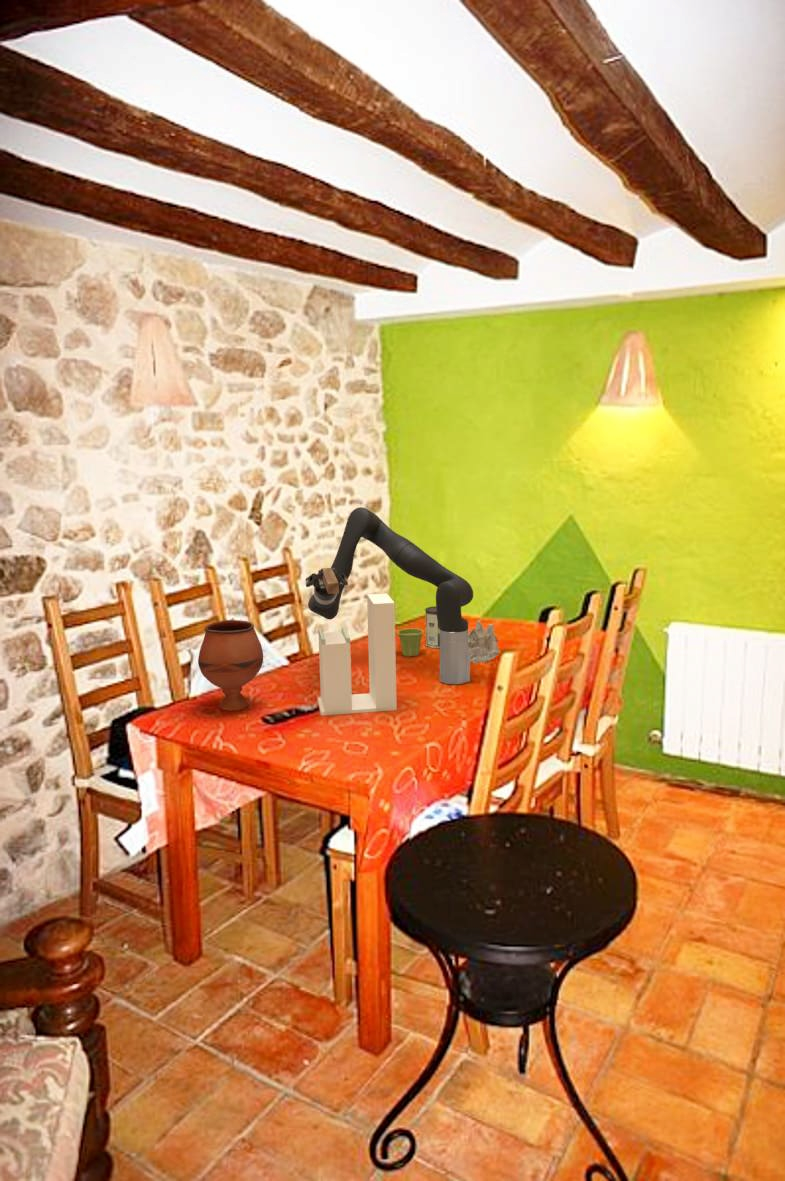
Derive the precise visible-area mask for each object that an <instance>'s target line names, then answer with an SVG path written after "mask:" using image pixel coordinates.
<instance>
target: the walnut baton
mask: <svg viewBox="0 0 785 1181" xmlns="http://www.w3.org/2000/svg"><path fill="white" fill-rule="evenodd" d="M321 569H323V582H324V584H325V587H326V589H327V592H328V594H339V583H338V581H337V579H336V576H335V574H334V572H333V570H332V568H331V567H323V568H322V567H321Z"/></svg>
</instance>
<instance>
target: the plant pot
mask: <svg viewBox="0 0 785 1181" xmlns="http://www.w3.org/2000/svg"><path fill="white" fill-rule="evenodd" d="M396 633H397V634H398V638H399V642H400V646H401V654H402V655H403V656H404V657H416V656H419V655H420V649H421V642H422V637H423V634H424V630H423V629H420V628H403V629H400V630H397V632H396Z"/></svg>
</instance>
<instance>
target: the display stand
mask: <svg viewBox="0 0 785 1181" xmlns="http://www.w3.org/2000/svg"><path fill="white" fill-rule="evenodd" d="M366 599H367V600H366V601H367V603H366V604H367V636H368V638H367V640H368V641H367V642H368V645H367V647H368V675H369V676H368V678H369V679H368V680H369V681H368V682H369V684H368V685H369V693H356V694H354V693H353V694H352V690H353V689H352V688H353V687H352V664H351V663H352V662H351V661H352V660H351V637H350V635H349V633H348V630H347V628H346V626H341V631H330V632H323V628H321V627H319V628H317V629H318V630H317V632H318V633H317V634H318V635H317V636H318V656H319V658H318V659H319V661H318V662H319V679H320V680H319V682H320V696H317V703H318V708H319V712H320V713H319V714H320V716H333V715H346V714H347V715H350V714H360V713H361V714H362V713H377V712H388V711H389V712H390V711H397V662H396V614H395V612H396V611H395V609H396V608H395V606H396V605H395V602H394V600H393V599H392V598H391V596H389V594H388V593H371V594H368V593H367V594H366Z"/></svg>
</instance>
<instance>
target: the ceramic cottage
mask: <svg viewBox="0 0 785 1181" xmlns="http://www.w3.org/2000/svg"><path fill="white" fill-rule="evenodd" d="M495 633H496V632H495V629H494V624H493V623H488V625H487V628H485V627H484V625H483V623H482V621H480V620H477V622H476V625H475V627H473V628H472V629H471V631H468V652H469V653H470V662H473V663H472V664H479V663H478V662H486V663H488V662H487V661H490V660H492V659H494V658H495V657H496V656H497V655H498V654H499V653H501V651H500V649H499V648H498V646H499V645H498V642H499V639H498V638H497V636H496V634H495ZM490 662H491V661H490Z"/></svg>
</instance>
